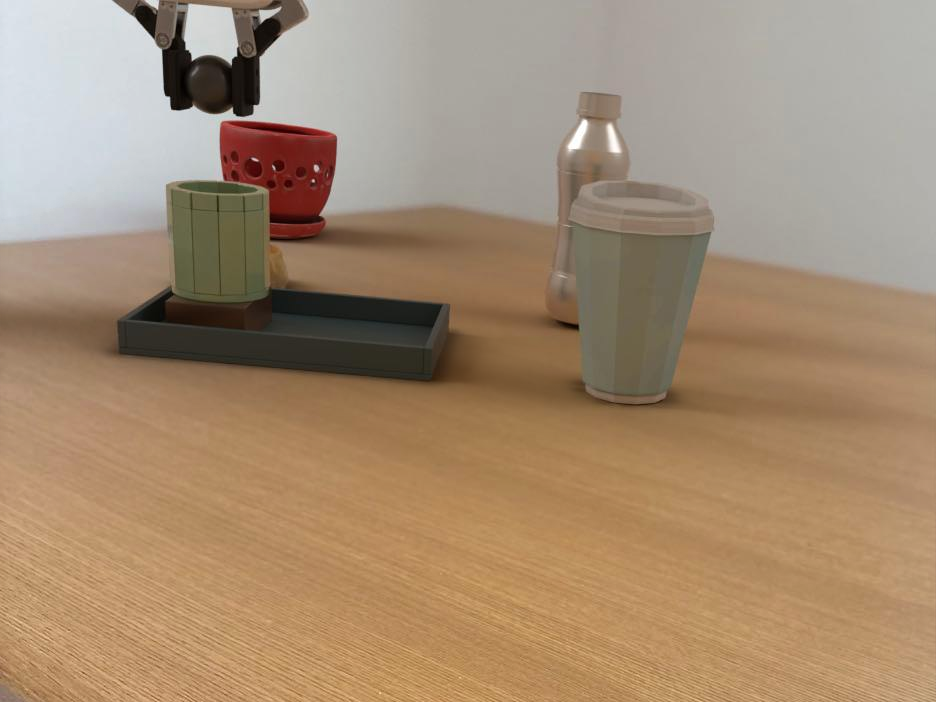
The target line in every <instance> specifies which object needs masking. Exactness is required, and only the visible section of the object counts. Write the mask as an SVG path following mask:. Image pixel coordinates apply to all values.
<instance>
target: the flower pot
mask: <svg viewBox="0 0 936 702" xmlns="http://www.w3.org/2000/svg"><path fill="white" fill-rule="evenodd" d="M218 140H219V158H220V165H221V173H222V181H230V182H240V183H246V184H252V185H257V186H261V187H264V188H266V189H268V190H269V220H270V239H280V240H281V239H282V240H284V239H285V240H289V239H290V240H291V239H292V240H296V239H304V238H310V237H314V236H316V235H318V234H320V233H322V231H323V230H324V229H325V227H326V224H327V220H326V219H325V217H323V216H322V215H321V213H322V212H323V211H324V208H325V206H326V205H327V202H328V200H329V198H330V194H331V192H332V187H333V182H334V178H335V173H336V166H337V156H338V155H337V154H338V136H337V135H336V134H335V133H333V132H330V131H327V130H323V129H318V128H314V127H307V126H301V125H292V124H285V123H278V122H267V121H257V120H233V119H232V120H222V121H221V122H220V126H219V139H218ZM254 159H255V160H254ZM315 166H317V168H318V169H317V171H316V170H315ZM313 180H314V181H313Z"/></svg>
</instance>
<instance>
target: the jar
mask: <svg viewBox="0 0 936 702" xmlns="http://www.w3.org/2000/svg"><path fill="white" fill-rule="evenodd" d="M165 201H166V202H165V204H166V224H167V225H166V226H167V247H168V248H167V249H168V264H169V265H168V266H169V268H168V270H169V283H170V285H172V292H173V293H174V294H175V295H177V296H180V297H183V298H186V299H191V300H196V301H203V302H215V303H239V302H249V301H255V300H259V299H263V298H265V297H267V296H268V294H269V286H270V245H271V238H270V220H269V190H268V189H266V188H264V187H261V186H257V185H252V184H246V183H240V182H230V181H224V180H215V179H214V180H213V179H212V180H211V179H194V180H193V179H190V180H189V179H188V180H187V179H186V180H176V181H171V182H169V183H167V184H165Z"/></svg>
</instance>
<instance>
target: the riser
mask: <svg viewBox="0 0 936 702" xmlns="http://www.w3.org/2000/svg"><path fill="white" fill-rule="evenodd" d="M165 305H166V323H171V324H182V325H193V326H204V327H215V328H226V329H237V330H249V331H261V330H262V329H263V328H264V327H265V326H266V325H267V324H268V323H269V322H270V321H271V320H272V285H271V284H270V286H269V294H268V296H267V297H265V298H263V299H259V300H255V301H249V302H239V303H215V302H203V301H196V300H191V299H186V298H183V297H180V296H177V295H174V296H172V297H171V298H169V299H168V300H167V301H166V302H165Z"/></svg>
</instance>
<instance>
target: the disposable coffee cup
mask: <svg viewBox="0 0 936 702" xmlns="http://www.w3.org/2000/svg"><path fill="white" fill-rule="evenodd" d="M709 207H710V205H709V200H708V198H707V197H705V196H702V195H701V194H698V193H696V192H695V191H692V190H690V189H687V188H682V187H678V186H674V185H671V184H666V183H662V182H649V181H636V180H627V181H597V182H594V183H590V184H586V185H583V186H581V188H580V191H579V194H578V199H575V200H574V201H573V203H572V205H571V209H570V216H569V218H568V220H571V221H572V225H573V240H574V256H575V271H576V286H577V302H578V317H579V326H578V330H579V331H578V332H579V344H580V346H579V347H580V362H581V374H582V377H581V378H582V382H583V383H584V384H585V392H586V393H587V394H590V395H591V396H592V397H594V398H596V399H599V400H603V401H607V402H610V403H615V404H627V405H644V404H655V403H657V402H659V401H661V400H662V401H663V400H664V399H666V396H667V393H668V391H669V390H671V389H672V384H673V380H674V376H675V372H676V369H677V366H678V365H677V364H678V361H679V358H680V354H681V350H682V346H683V342H684V339H685V335H686V330H687V327H688V322H689V319H690V316H691V312H692V308H693V305H694V300H695V296H696V293H697V290H698V285H699V281H700V277H701V274H702V269H703V265H704V262H705V259H706V254H707V250H708V246H709V244H710V243H709V242H710V239H711V235H712V232H715V230H716V229H715V216H714V212H713V210H712V209H711V208H709Z"/></svg>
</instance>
